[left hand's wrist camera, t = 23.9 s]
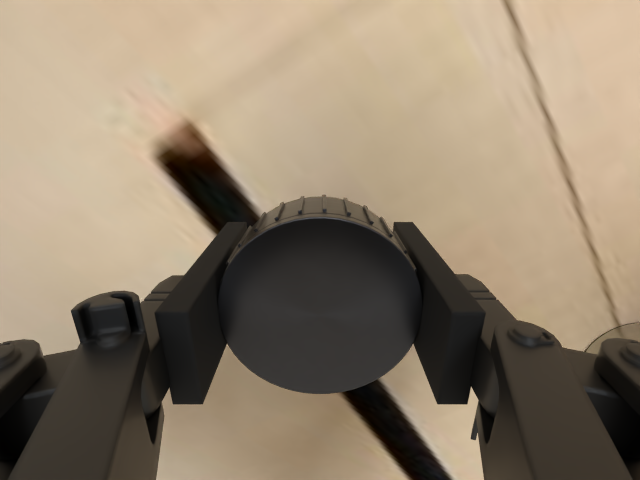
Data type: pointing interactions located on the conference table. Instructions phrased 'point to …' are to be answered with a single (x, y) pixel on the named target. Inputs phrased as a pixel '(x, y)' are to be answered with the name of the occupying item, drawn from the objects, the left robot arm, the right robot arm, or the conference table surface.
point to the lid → (320, 297)
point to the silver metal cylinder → (617, 336)
